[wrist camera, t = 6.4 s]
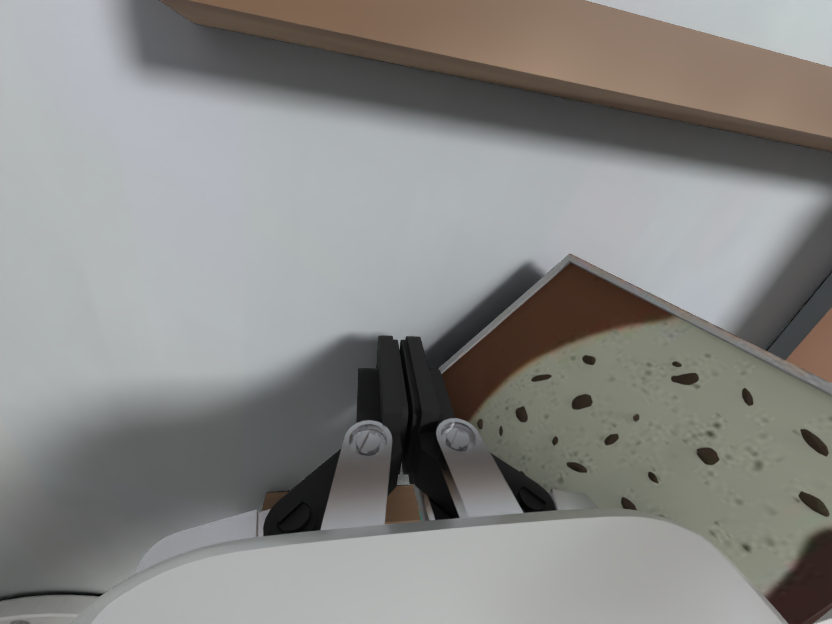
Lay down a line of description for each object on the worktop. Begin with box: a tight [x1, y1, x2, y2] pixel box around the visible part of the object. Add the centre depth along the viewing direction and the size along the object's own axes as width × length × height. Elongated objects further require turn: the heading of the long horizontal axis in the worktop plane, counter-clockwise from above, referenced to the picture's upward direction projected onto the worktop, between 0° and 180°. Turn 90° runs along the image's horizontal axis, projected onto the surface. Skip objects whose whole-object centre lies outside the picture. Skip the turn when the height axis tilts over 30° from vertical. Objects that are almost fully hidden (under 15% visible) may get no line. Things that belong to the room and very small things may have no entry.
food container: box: [413, 254, 832, 624], centre depth 11 cm, size 12×6×10 cm, turn 135°
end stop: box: [768, 273, 832, 383], centre depth 16 cm, size 23×3×5 cm, turn 172°
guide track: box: [159, 0, 832, 524], centre depth 14 cm, size 23×27×2 cm
